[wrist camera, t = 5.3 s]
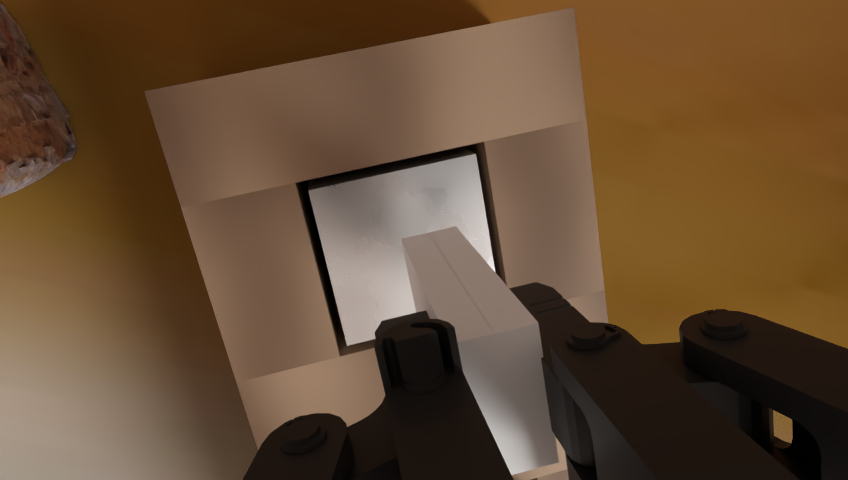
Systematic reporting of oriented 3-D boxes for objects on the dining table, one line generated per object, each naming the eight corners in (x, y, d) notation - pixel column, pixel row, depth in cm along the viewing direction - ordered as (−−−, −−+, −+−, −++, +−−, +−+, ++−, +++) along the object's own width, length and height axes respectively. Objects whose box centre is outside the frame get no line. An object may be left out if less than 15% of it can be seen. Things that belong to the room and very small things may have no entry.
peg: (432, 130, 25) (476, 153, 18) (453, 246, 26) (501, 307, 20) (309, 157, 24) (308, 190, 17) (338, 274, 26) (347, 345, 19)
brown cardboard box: (494, 25, 25) (574, 7, 17) (564, 502, 32) (641, 637, 24) (198, 84, 24) (144, 91, 16) (338, 568, 31) (347, 731, 23)
